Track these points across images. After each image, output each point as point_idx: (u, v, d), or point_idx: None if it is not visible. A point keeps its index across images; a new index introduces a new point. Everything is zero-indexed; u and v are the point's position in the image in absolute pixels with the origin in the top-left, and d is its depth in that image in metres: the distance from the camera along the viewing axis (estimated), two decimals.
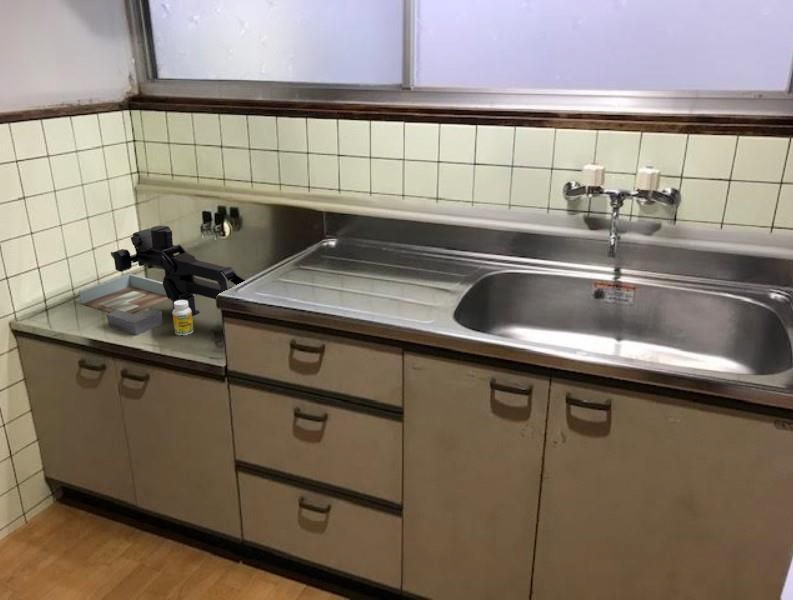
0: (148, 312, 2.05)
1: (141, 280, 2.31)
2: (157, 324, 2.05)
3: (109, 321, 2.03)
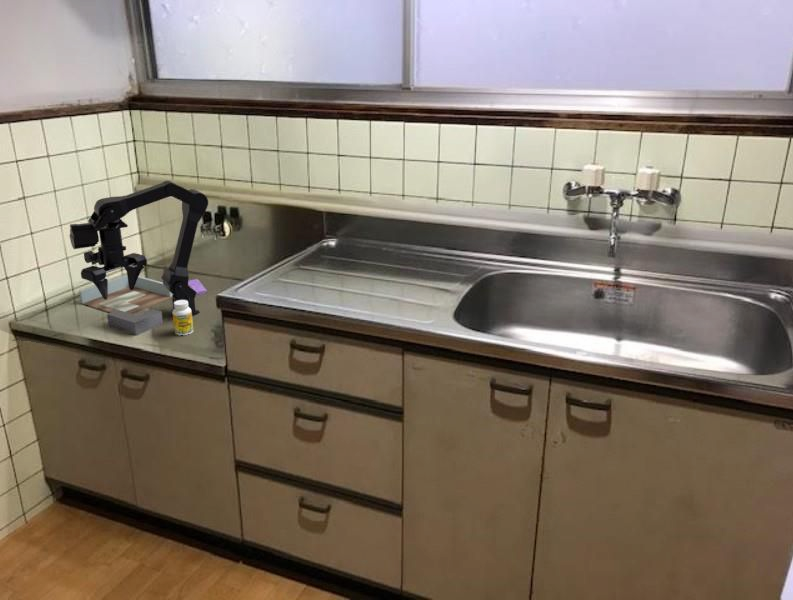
0: (148, 312, 2.05)
1: (141, 280, 2.31)
2: (157, 324, 2.05)
3: (109, 321, 2.03)
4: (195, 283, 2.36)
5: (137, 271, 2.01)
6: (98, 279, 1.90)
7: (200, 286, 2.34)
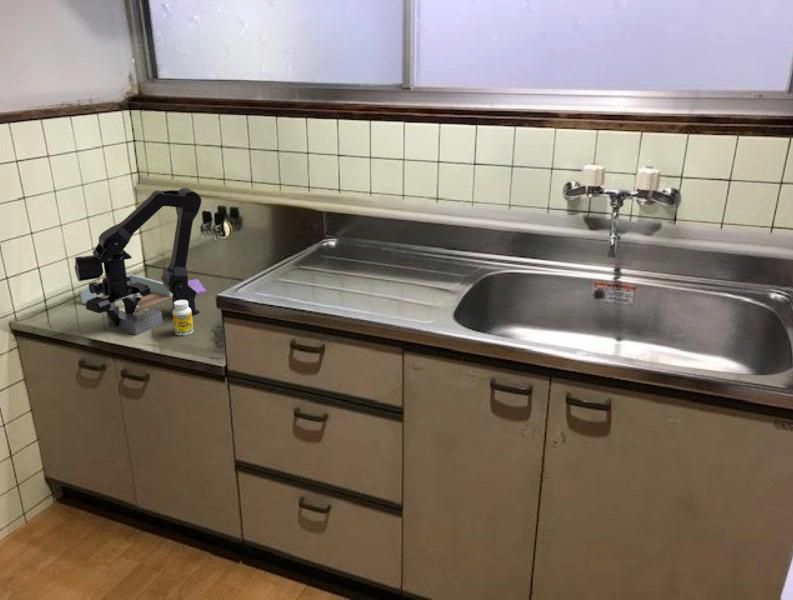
0: (148, 312, 2.05)
1: (141, 280, 2.31)
2: (157, 324, 2.05)
3: (109, 321, 2.03)
4: (195, 283, 2.36)
5: (134, 303, 2.03)
6: (103, 310, 1.93)
7: (199, 286, 2.34)
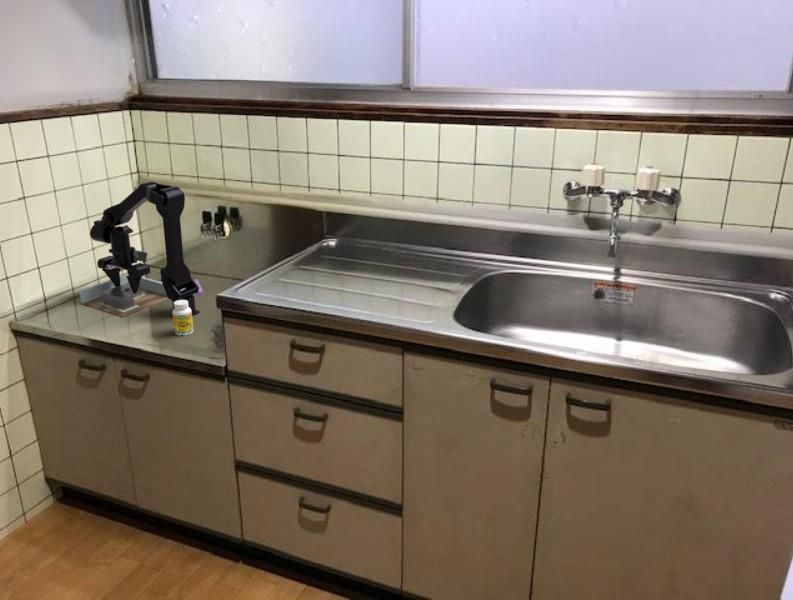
0: (124, 294, 2.16)
1: (141, 280, 2.31)
2: (119, 307, 2.15)
3: None
4: None
5: (127, 278, 2.17)
6: (99, 266, 2.22)
7: None
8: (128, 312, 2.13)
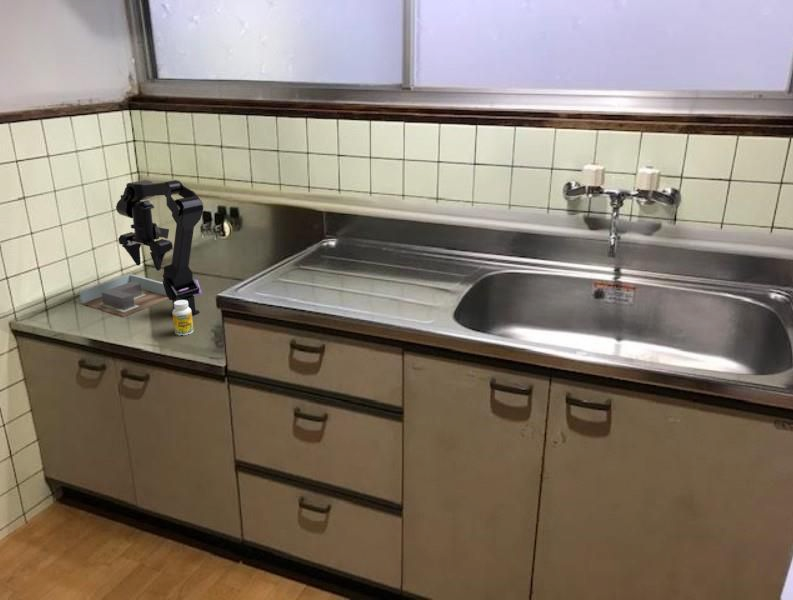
0: (124, 294, 2.16)
1: (141, 280, 2.31)
2: (119, 307, 2.15)
3: None
4: None
5: (151, 254, 2.14)
6: (120, 243, 2.19)
7: None
8: (128, 312, 2.13)
